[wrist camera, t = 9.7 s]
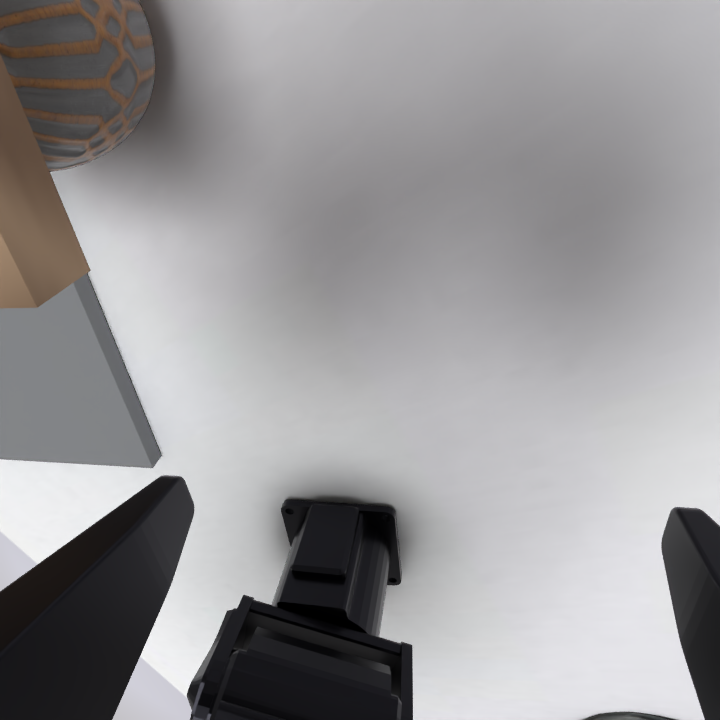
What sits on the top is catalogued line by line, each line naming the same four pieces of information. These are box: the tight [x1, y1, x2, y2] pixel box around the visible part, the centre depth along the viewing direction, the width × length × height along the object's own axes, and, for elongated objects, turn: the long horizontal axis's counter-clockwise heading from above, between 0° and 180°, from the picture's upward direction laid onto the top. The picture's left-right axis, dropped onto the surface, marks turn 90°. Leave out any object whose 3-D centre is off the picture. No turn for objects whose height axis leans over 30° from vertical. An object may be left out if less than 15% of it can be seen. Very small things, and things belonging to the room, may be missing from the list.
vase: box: [0, 0, 155, 172], centre depth 15 cm, size 7×7×9 cm
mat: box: [0, 273, 161, 468], centre depth 27 cm, size 16×12×1 cm
